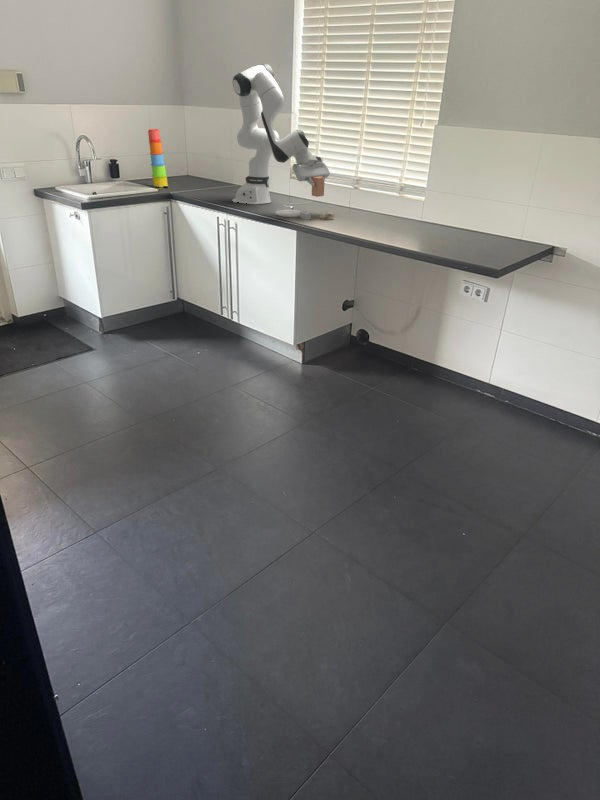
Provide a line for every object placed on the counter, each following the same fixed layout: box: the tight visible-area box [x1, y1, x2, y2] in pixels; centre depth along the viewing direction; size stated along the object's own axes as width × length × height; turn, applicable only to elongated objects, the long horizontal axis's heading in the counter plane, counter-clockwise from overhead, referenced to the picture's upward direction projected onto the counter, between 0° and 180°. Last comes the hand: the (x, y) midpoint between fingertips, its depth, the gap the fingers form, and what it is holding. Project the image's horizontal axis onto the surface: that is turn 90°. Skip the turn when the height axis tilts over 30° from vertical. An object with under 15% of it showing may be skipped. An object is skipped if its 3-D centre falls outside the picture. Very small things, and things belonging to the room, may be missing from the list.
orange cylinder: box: [311, 176, 325, 198], centre depth 289 cm, size 4×4×9 cm
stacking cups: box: [147, 128, 169, 187], centre depth 362 cm, size 10×10×35 cm
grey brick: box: [299, 211, 312, 220], centre depth 289 cm, size 6×3×3 cm, turn 29°
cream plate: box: [275, 209, 304, 218], centre depth 297 cm, size 15×15×1 cm
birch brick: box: [319, 212, 335, 221], centre depth 288 cm, size 6×3×3 cm, turn 113°
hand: (318, 185), depth 288 cm, fingers closed on orange cylinder, 4 cm apart
